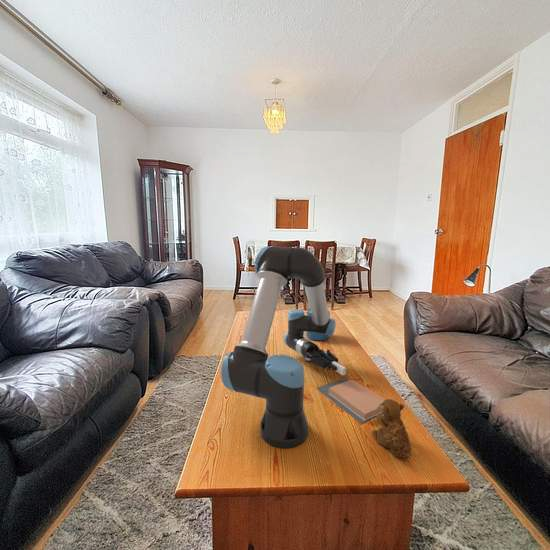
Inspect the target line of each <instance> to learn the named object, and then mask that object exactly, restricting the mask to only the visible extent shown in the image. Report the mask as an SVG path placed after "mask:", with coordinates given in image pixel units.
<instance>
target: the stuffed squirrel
mask: <svg viewBox="0 0 550 550" xmlns="http://www.w3.org/2000/svg"><path fill="white" fill-rule="evenodd" d="M381 405H382V410H383V415H381V414H378V415H377V416H376V420H377V422H378V423H379V425H380V426H381V427H380V428H378V429H373V430H372V431H371V436H372V437H373V439H374V440H375V441H376V443H377V444H378V445H380V446H382V447H384V448H386V449H390V453H391V454H392V455H393V456H394V457H398V458H409V457H410V456H412V451H411V450H412V444H411V442H410V440H409V434H408V431H407V430H406V429H407V427H405V424H404V422H403V420H402V419H401V418H402V417H401V416H402V415H401V411H402V410H403V409H404V408H405V407H406V405H405V404H403V403H398V401H396V400H395V399H390V398H389V399H388V398H387V399H384V401H383V403H381V404H380V405H379V406H381ZM379 406H378V407H379ZM378 407H377V408H378ZM379 409H380V407H379Z"/></svg>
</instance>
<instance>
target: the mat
mask: <svg viewBox="0 0 550 550" xmlns="http://www.w3.org/2000/svg"><path fill="white" fill-rule="evenodd" d="M349 380H350V379H348V378H347V377H343V378H340V379H336V380H335V381H332V382H329V383H326V384H323V385H320V386H317V387H315V389H316V390H317V391H319V392H320V393H321V394H323V395H324V396H325V397H326V398H328V399H329V400H330V401H331V402H333V403H334V404H335V405H336V406H338V407H339V408H340V409H342V410H343V411H344V412H345V413H347V414H348V415H349V416H350V417H352V418H353V419H354V420H356V421H357V422H358V423H359V424H361V425H363V424H366V423H367V422H369V421H372V420H374V419H375V418H376V416H377V415H376V416H374V417H372V418H370V419H368V420H365V421H364V420H363V419H361V418H360V417H359V416H358V415H356V414H355V413H354V412H352V411H351V410H350V409H348V408H347V407H346V406H344V405H343V404H342V403H340V402H339V401H338V400H336V399H335V398H334V397H333V396H331V395H330V394H329V387H332V386H335V385H338V384H341V383H344V382H346V381H349ZM381 415H383V413H381ZM383 416H384V415H383Z"/></svg>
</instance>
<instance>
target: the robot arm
mask: <svg viewBox="0 0 550 550" xmlns="http://www.w3.org/2000/svg"><path fill="white" fill-rule="evenodd" d="M254 263H255V264H254V270H255V271H254V272H255V273H256V277H257V279H258V280H259V281H258V283H257V288H256V292H255V294H254V297H253V301H252V304H251V308H250V311H249V314H248V317H247V319H246V320H247V321H246V324H245V328H244V331H243V334H242V338H241V341H240V342H239V343H237V344H235V345H234V348H233V351H229V352H227V353H226V355H225V356H224V357H223V360H222V362H221V366H220V367H221V368H220V377H221V382H222V384H223V386H224V387H225V388H226V389H228V390H231V391H234V392H235V393H241V394H245V395H249V396H252V397H256V398H261V399H264V400H265V409H264V411H263V412H264V413H263V415H262V418H261V420H260V428H259V429H260V430H259V431H260V432H259V433H260V436H261V437H262V439H263V441H265V442H266V443H267V444H268V445H270V446H272V447H275V448H279V449H280V448H281V449H291V448H295V447H298V446H300V445H302V444H303V443H304V442H305V441H306V440H307V439H308V436H309V423H308V419H307V416H306V412H305V409H304V398H305V397H304V392H305V374H304V373H305V371H304V366H303V365H302V363H301V361H299V360H298V359H297V358H295V357H293V356H291V355H286V354H279V355H278V354H272V355H270V356H269V353H268V352H267V349H266V348H267V343H268V341H269V337H270V333H271V328H272V325H273V322H274V317H275V313H276V310H277V307H278V302H279V298H280V295H281V291H282V287H284V286H286V285H287V283H288V279H298V280H299V281H300V284H301V285H302V286H304V287H303V288H304V291H305V295H306V298H307V302H308V303H307V304H308V306H309V308H310V311H311V316H307V314H305V311H304V310H303V309H299V308H293V309H290V310H289V311H288V317H287V318H288V319H287V332H285V335H284V337H283V342H284V345H286V346H287V347H288V348H289V349H290V350H293V351H295V352H296V353H298V354H300V356H302V357H304V358H305V362H307V363H311V364H313V365H315V366H317V367H320V368H322V369H328V370H329V371H331V370H332V371H334V372H336V373H338V374H340V375H341V376H346V375H347V374H346V372H347V368H346V367H345V366H343V365H342V364H340V363H339V359H338V358H337V357H336V355H335V354H333V353H332V352H331V350H330V349H327V350H325V351H324V349H320V348H319V345H317V343H314V342H312V341H311V340H310V339H309V338H307V337H304V334H305V333H306V332H312V333H318V334H324V335H329V336H333V335H334V333H335V331H336V320H335V319H334V318H331V317H330V318H329V314H328V310H329V309H328V308H329V307H328V303H327V297H326V296H327V295H326V291H325V287H324V286H325V285H324V282H325V280H326V276H325V275H326V274H325V270H324V268H323V265H322V263H321V262H320V260H319V259H318V257H316V255H315V254H314V253H312V252H311V251H309V250H308V249H306V248H303V247H300V246H299V247H298V246H297V247H296V246H295V247H292V246H291V247H290V246H288V247H287V246H276V245H271V246H265V247H264V246H263V247H262V248H260V249H259V251H258V252H257V254H256V256H255V259H254Z"/></svg>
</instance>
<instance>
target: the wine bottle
mask: <svg viewBox="0 0 550 550" xmlns="http://www.w3.org/2000/svg"><path fill="white" fill-rule="evenodd" d="M328 314H329V318H331V316H330V315H331V313H330V311H329V309H328ZM306 315H307V316H311V311H310V307H309V308H308V309H307V311H306ZM305 333H306V334H305V336H306V338H307V339H308V340H312V341H317V342H320V341H321V342H322V341H326V340H328V339H329V337H330V335H324V334H318V333H312V332H306V331H305Z"/></svg>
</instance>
